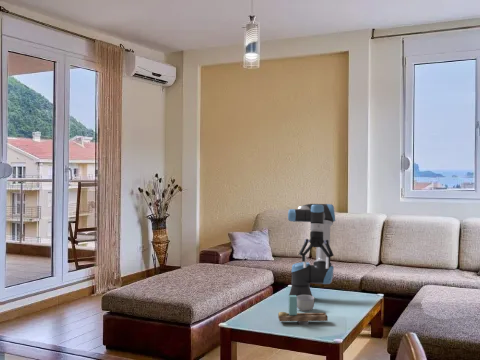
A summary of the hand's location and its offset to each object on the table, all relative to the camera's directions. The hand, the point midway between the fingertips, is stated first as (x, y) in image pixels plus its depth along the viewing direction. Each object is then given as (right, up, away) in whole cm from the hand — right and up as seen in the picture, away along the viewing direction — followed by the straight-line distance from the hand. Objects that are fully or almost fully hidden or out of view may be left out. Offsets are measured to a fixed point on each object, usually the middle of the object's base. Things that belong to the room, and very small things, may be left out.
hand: (316, 268), depth 303 cm
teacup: (-6, -27, +12) cm, 30 cm away
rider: (-15, -24, -15) cm, 32 cm away
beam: (-9, -27, -15) cm, 33 cm away
